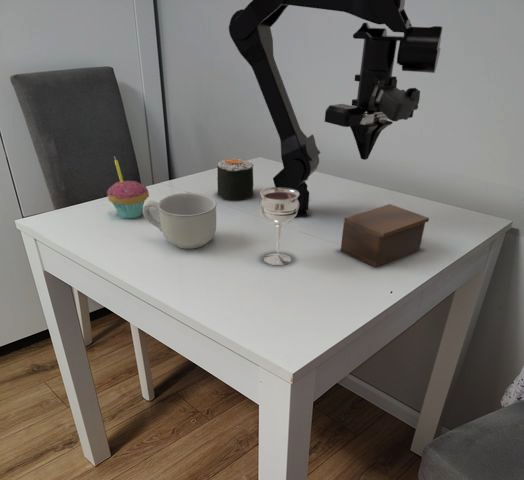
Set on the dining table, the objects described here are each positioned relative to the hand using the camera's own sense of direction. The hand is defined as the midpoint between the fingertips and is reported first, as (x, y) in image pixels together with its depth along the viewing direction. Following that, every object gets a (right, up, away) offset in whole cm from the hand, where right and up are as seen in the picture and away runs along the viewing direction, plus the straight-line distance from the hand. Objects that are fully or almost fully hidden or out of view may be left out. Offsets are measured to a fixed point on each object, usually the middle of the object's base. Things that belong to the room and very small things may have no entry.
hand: (364, 159), depth 97 cm
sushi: (-27, -1, +21) cm, 34 cm away
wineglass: (-18, -22, -8) cm, 29 cm away
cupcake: (-49, -9, +9) cm, 51 cm away
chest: (+2, -19, -5) cm, 20 cm away
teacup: (-36, -17, -2) cm, 40 cm away
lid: (+2, -15, -8) cm, 17 cm away
